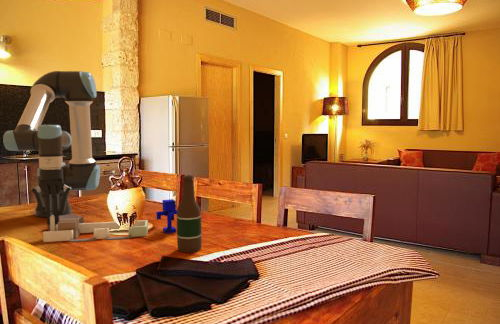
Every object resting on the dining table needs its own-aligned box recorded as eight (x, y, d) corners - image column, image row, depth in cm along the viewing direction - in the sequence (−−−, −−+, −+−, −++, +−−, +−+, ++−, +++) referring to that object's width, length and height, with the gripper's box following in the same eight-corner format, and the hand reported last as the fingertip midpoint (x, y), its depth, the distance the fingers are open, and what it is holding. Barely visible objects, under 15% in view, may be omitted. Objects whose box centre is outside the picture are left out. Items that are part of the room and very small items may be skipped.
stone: (58, 232, 153) (58, 220, 152) (45, 230, 157) (44, 218, 157) (86, 226, 163) (85, 214, 162) (72, 223, 167) (71, 212, 167)
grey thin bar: (71, 240, 141) (71, 239, 141) (130, 237, 145) (130, 236, 145) (69, 242, 139) (69, 241, 139) (129, 238, 143) (129, 237, 143)
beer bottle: (178, 246, 134) (177, 174, 132) (202, 245, 135) (200, 174, 133) (176, 253, 126) (174, 177, 124) (201, 252, 127) (199, 177, 125)
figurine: (155, 233, 150) (154, 201, 149) (166, 228, 157) (165, 198, 156) (173, 235, 148) (172, 202, 147) (183, 230, 155) (182, 199, 154)
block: (62, 235, 148) (61, 219, 148) (79, 234, 149) (79, 218, 149) (58, 239, 142) (57, 222, 142) (76, 238, 144) (75, 222, 143)
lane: (51, 234, 150) (51, 224, 149) (148, 228, 157) (147, 220, 157) (43, 242, 139) (42, 232, 139) (146, 236, 147) (146, 226, 146)
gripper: (27, 169, 138) (30, 237, 140) (68, 168, 140) (70, 235, 142) (34, 167, 145) (37, 231, 147) (73, 167, 148) (75, 230, 150)
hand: (53, 233), depth 145 cm, fingers closed
